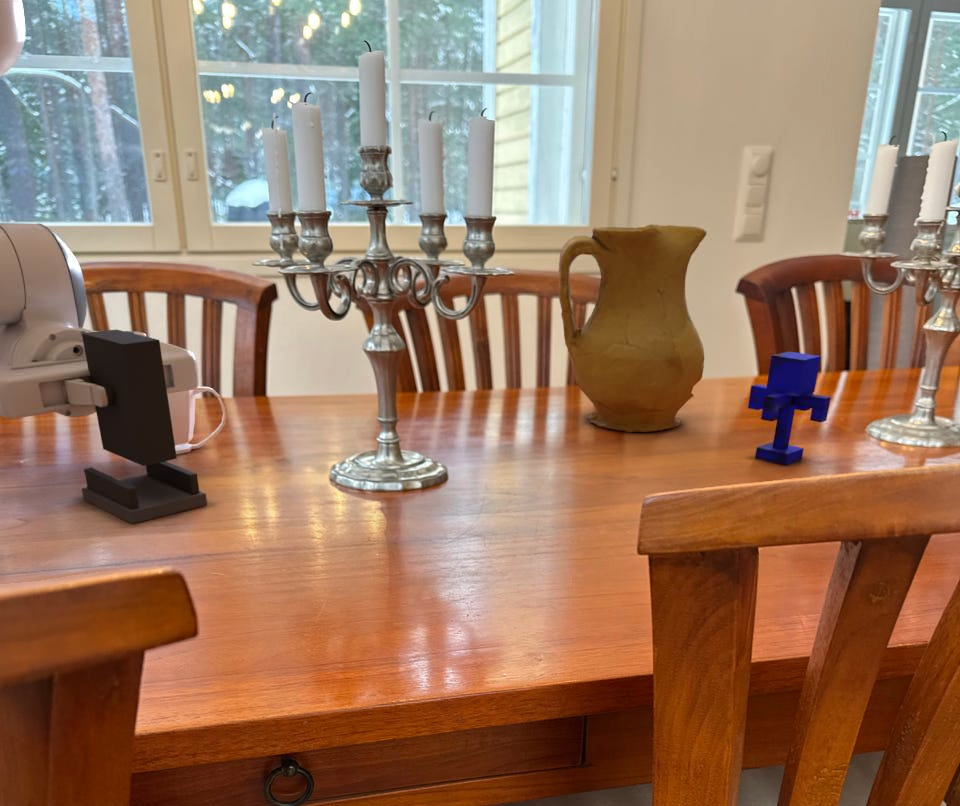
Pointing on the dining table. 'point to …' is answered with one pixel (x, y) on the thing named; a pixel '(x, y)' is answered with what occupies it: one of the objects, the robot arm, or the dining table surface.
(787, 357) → the figurine
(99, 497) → the base pad
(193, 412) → the cup
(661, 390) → the pitcher
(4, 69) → the robot arm
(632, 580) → the dining table surface
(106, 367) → the upright pad
